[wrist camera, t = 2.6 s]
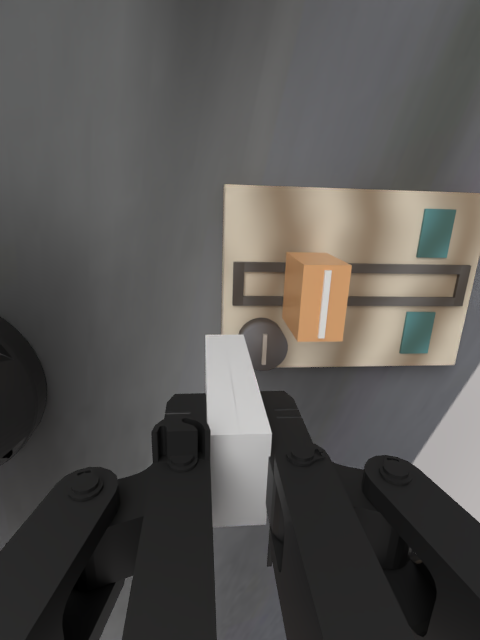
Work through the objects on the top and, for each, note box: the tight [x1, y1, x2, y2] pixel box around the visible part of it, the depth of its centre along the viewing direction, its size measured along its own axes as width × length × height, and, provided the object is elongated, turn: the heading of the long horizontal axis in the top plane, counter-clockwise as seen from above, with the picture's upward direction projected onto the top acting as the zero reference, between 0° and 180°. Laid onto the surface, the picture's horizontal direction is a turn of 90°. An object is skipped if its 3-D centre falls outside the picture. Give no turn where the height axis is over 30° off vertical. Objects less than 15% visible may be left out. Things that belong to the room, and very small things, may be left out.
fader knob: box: [282, 252, 352, 342], centre depth 27 cm, size 3×5×5 cm, turn 178°
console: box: [221, 184, 480, 371], centre depth 30 cm, size 20×14×4 cm
